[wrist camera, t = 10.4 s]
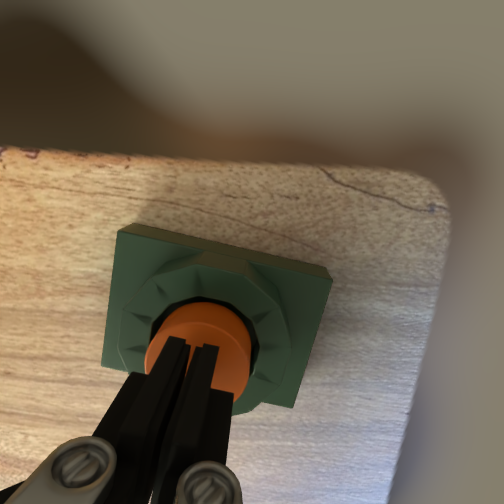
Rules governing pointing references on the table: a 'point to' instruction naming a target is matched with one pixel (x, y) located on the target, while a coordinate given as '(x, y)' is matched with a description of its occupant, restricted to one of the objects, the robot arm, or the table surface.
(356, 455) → the table surface
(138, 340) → the box
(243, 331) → the release button
